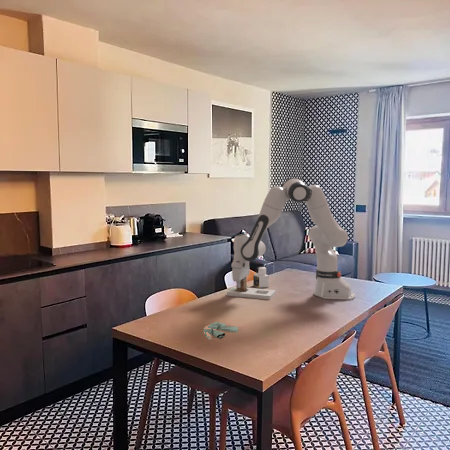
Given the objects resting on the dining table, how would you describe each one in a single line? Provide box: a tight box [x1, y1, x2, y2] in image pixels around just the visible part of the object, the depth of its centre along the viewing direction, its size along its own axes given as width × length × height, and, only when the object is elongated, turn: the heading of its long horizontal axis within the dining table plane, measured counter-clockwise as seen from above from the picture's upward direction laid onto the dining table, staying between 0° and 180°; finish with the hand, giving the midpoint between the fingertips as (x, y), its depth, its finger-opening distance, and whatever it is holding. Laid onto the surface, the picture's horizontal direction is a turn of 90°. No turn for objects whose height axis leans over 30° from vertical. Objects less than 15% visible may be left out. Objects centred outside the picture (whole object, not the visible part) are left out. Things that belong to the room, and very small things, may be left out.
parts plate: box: [226, 286, 277, 301], centre depth 239 cm, size 25×13×2 cm, turn 69°
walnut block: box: [237, 278, 248, 292], centre depth 240 cm, size 4×4×8 cm
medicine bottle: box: [252, 266, 270, 289], centre depth 257 cm, size 7×7×12 cm
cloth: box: [203, 321, 239, 340], centre depth 180 cm, size 20×22×2 cm
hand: (241, 285), depth 240 cm, fingers open, 8 cm apart
